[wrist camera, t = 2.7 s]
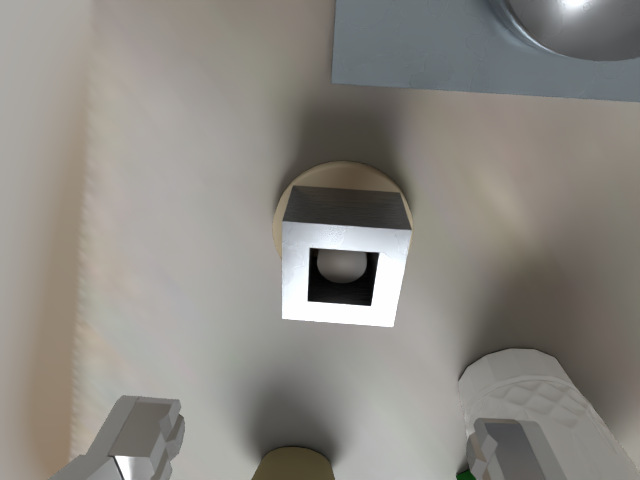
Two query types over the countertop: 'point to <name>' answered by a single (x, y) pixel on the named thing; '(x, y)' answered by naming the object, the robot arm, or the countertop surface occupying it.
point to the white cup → (544, 411)
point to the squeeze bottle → (294, 465)
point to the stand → (345, 176)
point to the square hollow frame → (343, 234)
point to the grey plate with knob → (491, 46)
